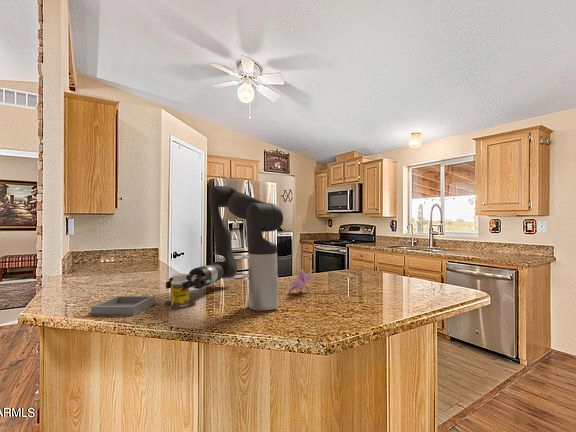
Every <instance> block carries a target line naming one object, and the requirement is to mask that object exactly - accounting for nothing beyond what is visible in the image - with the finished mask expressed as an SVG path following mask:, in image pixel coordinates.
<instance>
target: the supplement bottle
mask: <svg viewBox="0 0 576 432" xmlns="http://www.w3.org/2000/svg"><path fill="white" fill-rule="evenodd" d="M186 274H187V273H175V274H173V276H172V277H173V281H171V288H170V301H171V305H173V304H179V308H183V307H187V306H189V305H190V298H189V297H190V291H189V290H190V288H188V289H185V290H184V289H182V283H183V282H186V281H188V280H187V279H186ZM171 305H170V306H171Z"/></svg>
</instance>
